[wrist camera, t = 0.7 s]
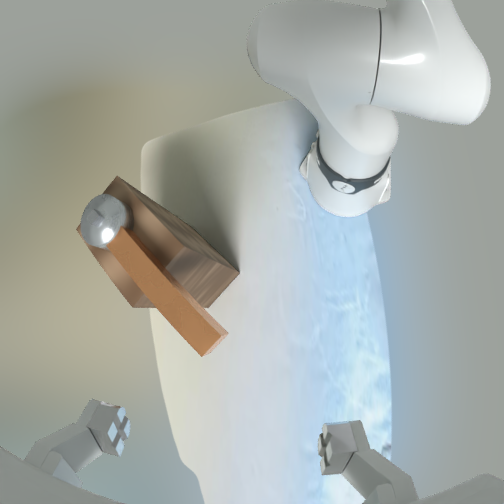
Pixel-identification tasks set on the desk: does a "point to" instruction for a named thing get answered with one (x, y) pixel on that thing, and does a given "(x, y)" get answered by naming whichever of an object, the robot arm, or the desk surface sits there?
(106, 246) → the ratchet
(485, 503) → the robot arm
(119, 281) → the pedestal
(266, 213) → the desk surface
